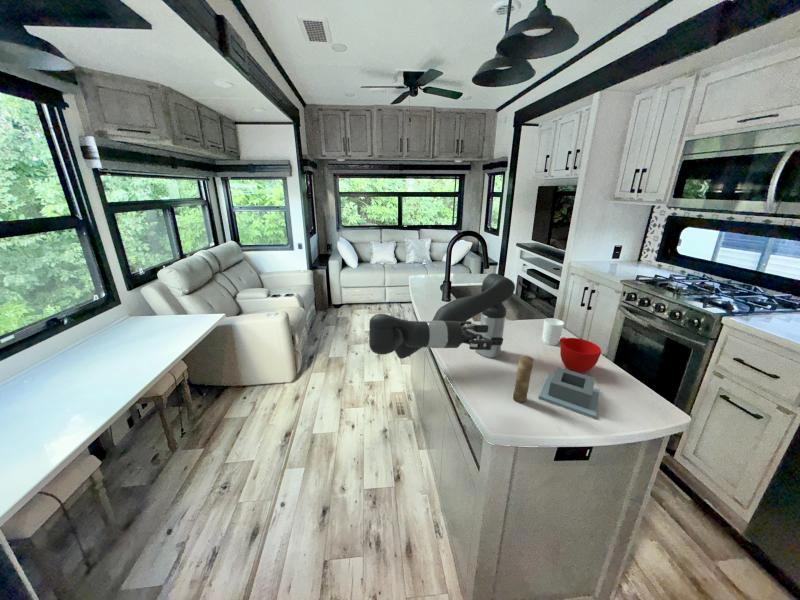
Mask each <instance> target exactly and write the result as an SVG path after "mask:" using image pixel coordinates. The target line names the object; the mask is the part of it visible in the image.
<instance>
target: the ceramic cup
mask: <svg viewBox="0 0 800 600" xmlns="http://www.w3.org/2000/svg"><path fill="white" fill-rule="evenodd" d="M559 345H560V359H561V361H562V364H563V365H564V366H565V369H567V370H570V371H574V372H577V373H580V374H585V373H587V372H589V371H591V370H592V369H593V368H594V367H595V366H596V365H597V363H598V361H599V359H600V356H601V354H602V348H601V347H600V346H599V345H598V344H596V343H594V342H592V341H589V340H586V339H582V338H577V337H560V339H559Z"/></svg>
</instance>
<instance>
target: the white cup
mask: <svg viewBox="0 0 800 600" xmlns="http://www.w3.org/2000/svg"><path fill="white" fill-rule="evenodd" d="M542 326H543V327H542V336H541V342H543V344H546V345H547V346H548V345H549V346H557V345H558V344H560V339H561V337H562V334H563V329H564V326H565V322H564V321H562V320H561V319H558V318H553V317H551V318H550V317H547V318H544V320H543V325H542Z"/></svg>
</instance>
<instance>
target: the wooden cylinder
mask: <svg viewBox="0 0 800 600" xmlns="http://www.w3.org/2000/svg"><path fill="white" fill-rule="evenodd" d="M534 360H535V359H534V358H533V357H532V356H529V355H526V354H525V355H520V356H519V359H518V365H517V372H516V378H515V383H514V391H513V396H512V399H513V400H514V402H515V403H519V404H525V403H526V402H527V397H528V393H529V392H528V391H529V387H530V386H529V385H530V382H531V377H532V376H531V375H532V370H533V366H534V362H535V361H534Z"/></svg>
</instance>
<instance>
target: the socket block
mask: <svg viewBox="0 0 800 600" xmlns="http://www.w3.org/2000/svg"><path fill="white" fill-rule="evenodd" d="M595 381H596V377H594V376H590V375H587V374H585V373H583V374H580V373H577V372H574V371H570V370H568V369H567V368H563V367H559V366H557V367H556V368H555V371H554V373H553V374H550V373H548V375H547V378H546V379H545V382H544V384H543V387H542V389H541V391H540V393H539V395H538V399H539V400H542V401H544V402H547V403H550V404H552V405H555V406H558V407H561V408H564V409H566V410H570V411H571V412H574V413H577V414H581V415H583V416H586V417H588V418H592V419H594V420H596V418H597V412H598V406H599V400H600V393H601V389H598V388H595Z"/></svg>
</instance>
